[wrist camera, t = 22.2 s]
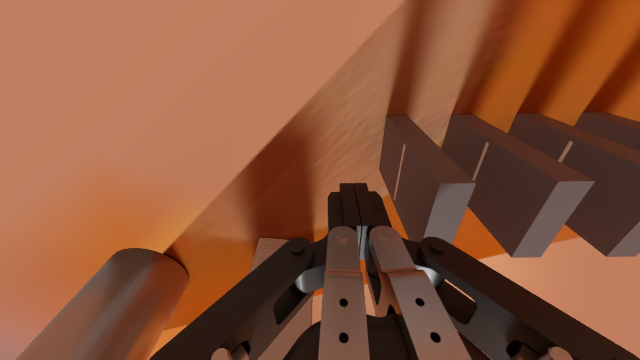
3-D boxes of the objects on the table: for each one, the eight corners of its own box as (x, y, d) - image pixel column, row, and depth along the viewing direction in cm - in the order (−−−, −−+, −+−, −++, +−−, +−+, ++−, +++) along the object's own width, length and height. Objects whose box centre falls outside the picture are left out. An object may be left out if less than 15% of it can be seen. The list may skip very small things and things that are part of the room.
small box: (308, 283, 31) (301, 423, 20) (259, 279, 30) (224, 420, 19) (315, 240, 27) (311, 388, 15) (258, 235, 26) (213, 383, 15)
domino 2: (435, 168, 21) (511, 257, 13) (451, 114, 19) (558, 181, 10) (453, 168, 21) (540, 257, 13) (471, 114, 19) (595, 181, 10)
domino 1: (379, 169, 22) (417, 258, 13) (386, 115, 19) (439, 183, 10) (396, 169, 22) (446, 258, 13) (406, 115, 19) (476, 183, 10)
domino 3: (493, 167, 21) (605, 256, 13) (516, 113, 19) (678, 180, 10) (511, 167, 21) (635, 256, 13) (537, 113, 19) (715, 179, 10)
